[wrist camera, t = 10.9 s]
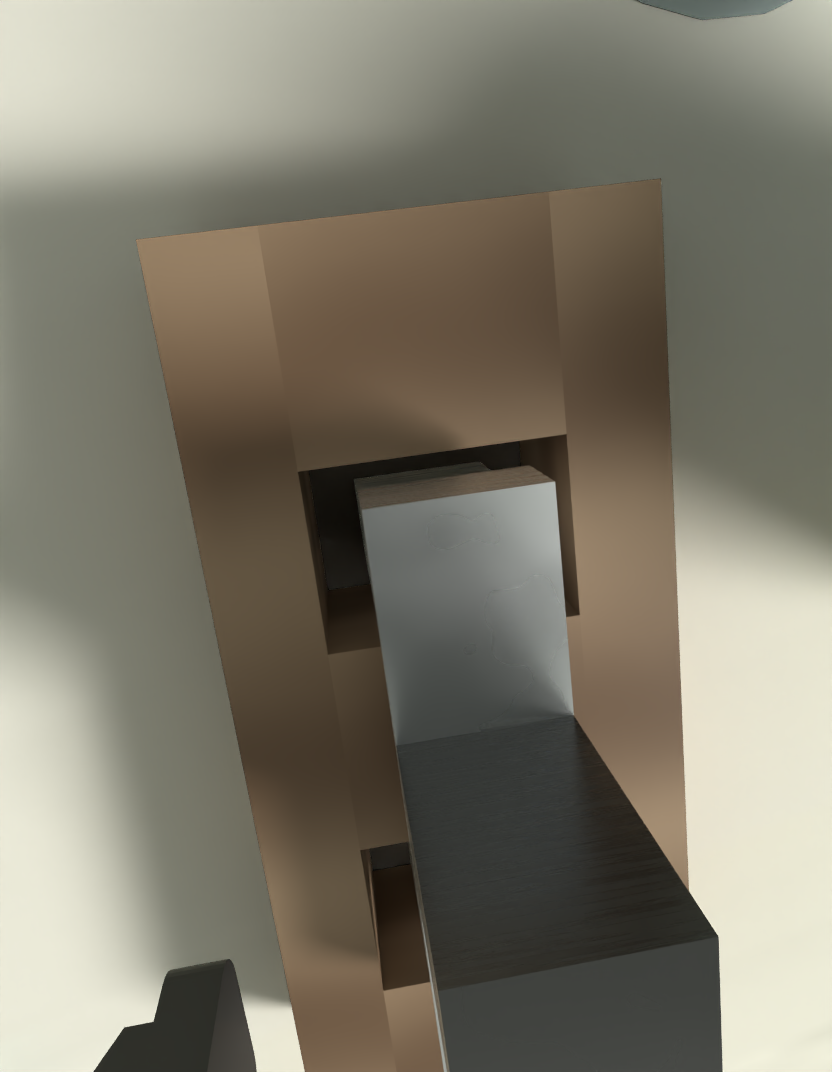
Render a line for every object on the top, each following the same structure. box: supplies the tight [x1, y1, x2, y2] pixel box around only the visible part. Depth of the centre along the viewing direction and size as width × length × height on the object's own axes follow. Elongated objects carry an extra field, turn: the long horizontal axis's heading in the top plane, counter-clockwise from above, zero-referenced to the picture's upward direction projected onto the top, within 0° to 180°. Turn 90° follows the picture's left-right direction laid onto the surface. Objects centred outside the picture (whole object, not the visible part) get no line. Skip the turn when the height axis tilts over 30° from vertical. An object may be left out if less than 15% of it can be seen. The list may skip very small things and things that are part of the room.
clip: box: [354, 461, 722, 1072], centre depth 14 cm, size 11×3×12 cm, turn 7°
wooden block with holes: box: [136, 179, 689, 1072], centre depth 18 cm, size 20×9×4 cm, turn 7°
